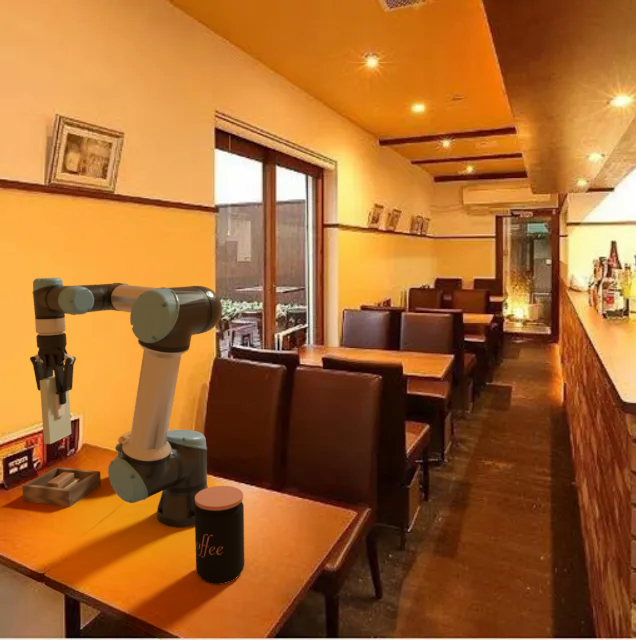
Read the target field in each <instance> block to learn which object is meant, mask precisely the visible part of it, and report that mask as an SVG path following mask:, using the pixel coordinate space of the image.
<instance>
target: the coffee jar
mask: <svg viewBox="0 0 636 640" xmlns="http://www.w3.org/2000/svg"><path fill="white" fill-rule="evenodd" d="M243 499H244V492H243V491H242V490H241V489H239V487H238V488H237V487H235V486H229V485H215V486H208V488H206V489H203V490H201V491H199V492H198V493H197V494H196V496H195V504H196V507H195V525H194V529H195V531H194V534H195V539H194V540H195V569H196V570H195V571H196V574H197V575H198V576H199V577H200V579H201V581H204V582H205V583H208V584H211V583H212V584H213V585H221V584H220V583H223V584H226V583H225V582H228V581H230V582H232V581H231V580H233V579H234V580H236V579H237V578H238V577H240V575H241V574H240V573H242V572H243V571H244V568H245V525H244V524H245V517H244V516H245V514H244V512H245V508H244V503H243ZM239 574H240V575H239ZM237 576H238V577H237ZM236 577H237V578H236ZM235 578H236V579H235ZM234 580H233V581H234ZM228 583H229V582H228Z"/></svg>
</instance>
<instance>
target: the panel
mask: <svg viewBox="0 0 636 640" xmlns="http://www.w3.org/2000/svg"><path fill="white" fill-rule="evenodd" d="M56 392H57V386H56V380H55V375H53V376H52V377H49V378H46V379H42V380H40V400H41V401H40V402H41V403H40V404H41V418H42V419H41V421H42V430H43V432H42V433H43V434H42V435H43V444H44V445H45V444H46V445H51V444H53V443H56V442H58V441H59V440H61V439H64V438H65V437H66V438H67V436H71V435H72V434H73V433H72V417H71V407H70V406H71V405H70V402H71V401H70V390H69V391H67V392H66V403H65V414H64V415H62V416H59V417H56V403H55V394H56Z"/></svg>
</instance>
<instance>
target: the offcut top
mask: <svg viewBox="0 0 636 640" xmlns="http://www.w3.org/2000/svg"><path fill="white" fill-rule="evenodd" d="M73 482H74V473H67V472H63V473H62V474H60V475H58V476H57V477H55V478H54V479H52V480H51V481H49V482H48V483H47V487H56V488H65V487H67V486H68V485H70V484H71V483H73Z"/></svg>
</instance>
